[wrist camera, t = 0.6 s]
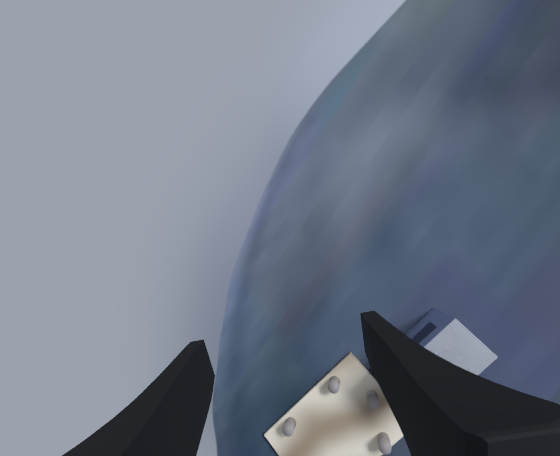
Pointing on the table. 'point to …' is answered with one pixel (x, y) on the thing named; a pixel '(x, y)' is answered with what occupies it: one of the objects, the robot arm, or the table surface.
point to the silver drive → (451, 341)
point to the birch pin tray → (338, 417)
